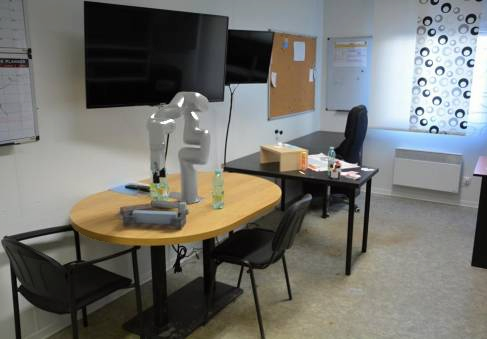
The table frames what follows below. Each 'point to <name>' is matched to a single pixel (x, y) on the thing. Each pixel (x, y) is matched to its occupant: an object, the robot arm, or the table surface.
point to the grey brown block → (135, 207)
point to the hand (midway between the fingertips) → (159, 180)
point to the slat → (153, 216)
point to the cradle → (174, 223)
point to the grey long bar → (170, 205)
